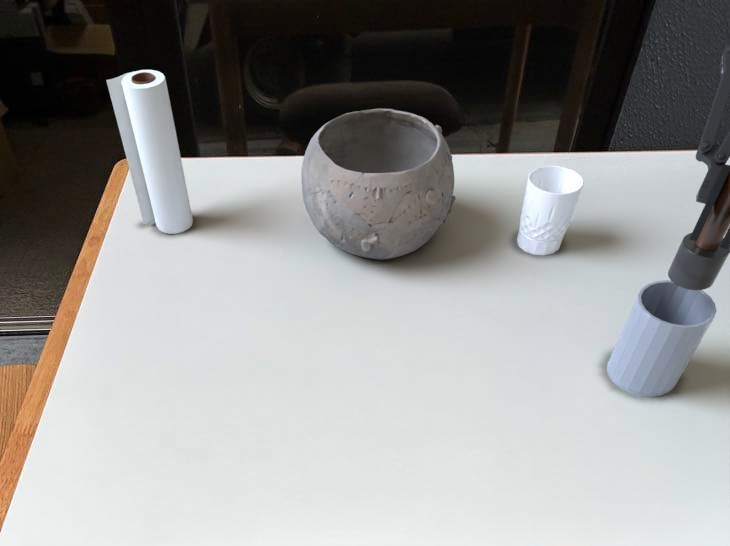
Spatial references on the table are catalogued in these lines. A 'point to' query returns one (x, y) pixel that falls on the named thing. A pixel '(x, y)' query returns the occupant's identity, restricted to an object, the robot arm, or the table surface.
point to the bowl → (378, 182)
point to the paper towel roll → (152, 148)
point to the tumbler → (660, 338)
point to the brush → (704, 248)
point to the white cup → (548, 208)
